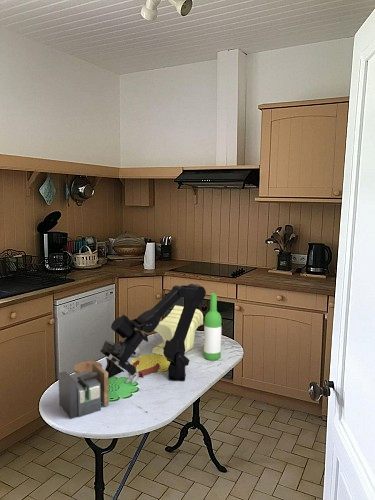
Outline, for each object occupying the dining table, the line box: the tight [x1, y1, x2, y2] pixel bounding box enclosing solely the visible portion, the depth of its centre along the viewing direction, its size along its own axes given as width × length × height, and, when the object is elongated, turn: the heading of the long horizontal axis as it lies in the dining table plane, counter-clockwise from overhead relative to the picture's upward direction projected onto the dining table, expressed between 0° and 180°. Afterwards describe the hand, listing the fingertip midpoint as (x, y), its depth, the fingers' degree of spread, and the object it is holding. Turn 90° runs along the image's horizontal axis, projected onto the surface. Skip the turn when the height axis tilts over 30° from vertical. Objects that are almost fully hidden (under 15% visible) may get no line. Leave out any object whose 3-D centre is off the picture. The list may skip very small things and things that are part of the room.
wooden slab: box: [77, 363, 109, 407], centre depth 148 cm, size 9×12×12 cm
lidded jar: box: [73, 360, 103, 374], centre depth 163 cm, size 11×11×9 cm
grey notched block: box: [58, 371, 102, 420], centre depth 146 cm, size 10×12×12 cm
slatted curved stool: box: [151, 304, 204, 356], centre depth 198 cm, size 30×16×18 cm, turn 152°
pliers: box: [124, 359, 161, 384], centre depth 174 cm, size 12×20×3 cm, turn 162°
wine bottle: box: [203, 292, 222, 361], centre depth 190 cm, size 8×8×30 cm
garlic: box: [131, 346, 141, 358], centre depth 193 cm, size 6×5×5 cm
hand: (102, 380), depth 151 cm, fingers closed, pressing on wooden slab
